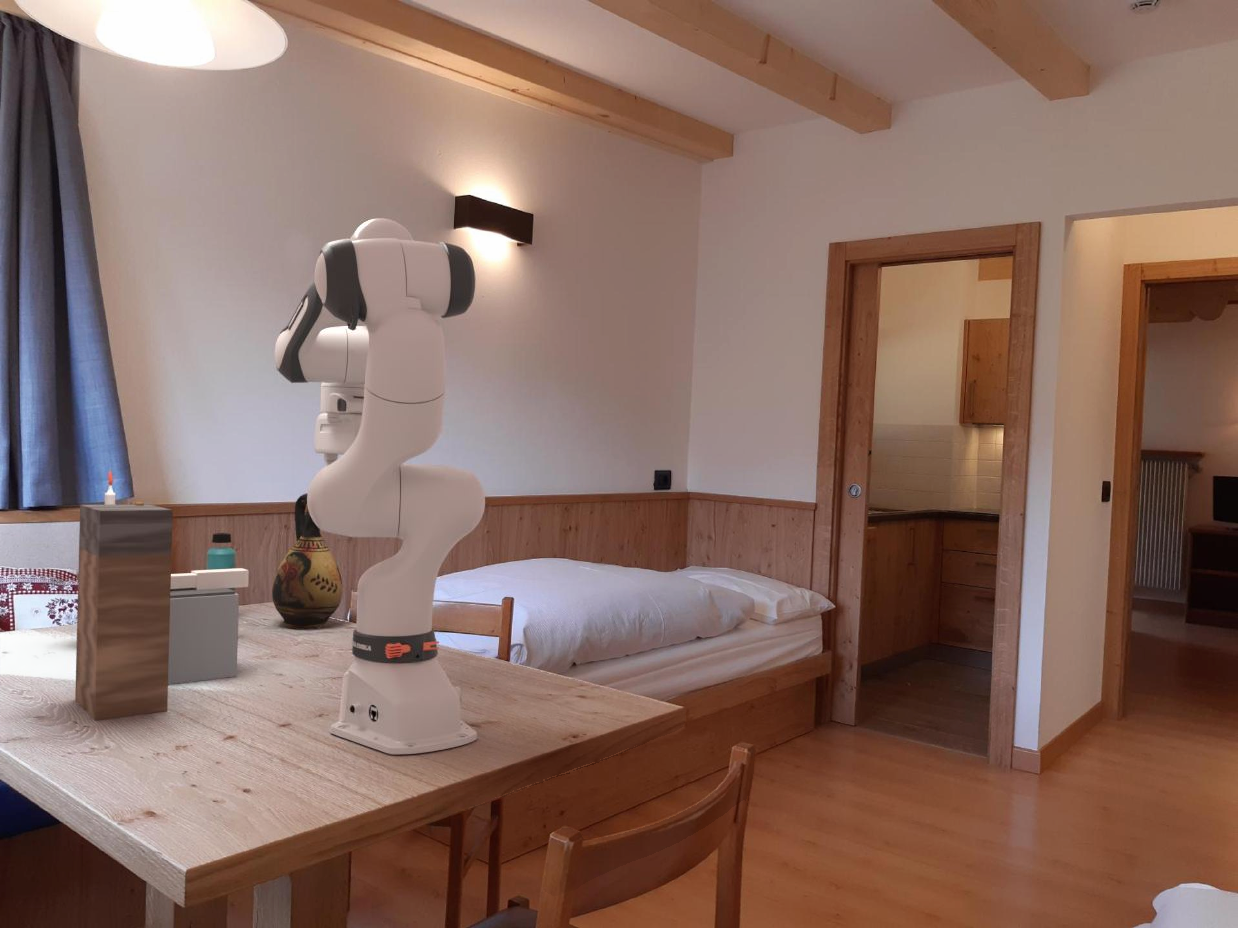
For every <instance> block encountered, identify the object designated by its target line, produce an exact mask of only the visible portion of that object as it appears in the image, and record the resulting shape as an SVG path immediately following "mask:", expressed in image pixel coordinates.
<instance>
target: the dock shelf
mask: <svg viewBox="0 0 1238 928" xmlns="http://www.w3.org/2000/svg"><path fill="white" fill-rule="evenodd" d="M239 604H240V594H238V593H236V591H235V590H234V591H233V590H230V589H228V588H221V589H204V590H196V589H194V588H179V589H171V591H170V629H169V667H168V685H175V684H185V683H192V682H200V681H209V680H218V679H227V678H233V677H235V678H236V677H238V645H239V643H238V642H239V615H240V614H239V612H240V609H239V607H240V605H239Z"/></svg>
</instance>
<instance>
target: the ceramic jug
mask: <svg viewBox="0 0 1238 928" xmlns="http://www.w3.org/2000/svg"><path fill="white" fill-rule="evenodd" d="M307 495H308V492H307V493H303V494H301V495H300V496H299V497H298V498H297V499H296V501H295V505H294V523H295V525H294V526H295V527H294V528H295V538H296V541H295V543H294V545H293V546H292V547H291V548H290V549H289V550H288V553H287V554H286V555H285V556H284V558H283V560H282V562H281V563H280V565H279V566H278V569H277V571H276V573H275V576H274V579H273V583H272V589H271V598H272V602H273V604H274V607H275V610H276V611H277V612H278V613H279V615H280V616H281V618H282V619H283V626H284V627H287V628H289V629H293V630H296V629H297V630H298V629H304V630H313V629H315V630H316V629H318V628H325V627H326V626H327V625H326V624H327V623H328V620H329V619H330V617H331V616H332V615H333V614H334V613H335V612H336V611H337V609H338V608H339V607H340V605H341V602H342V598H343V588H344V587H343V580H342V575H341V572H340V568H339V565H338V563H337V561H336V559H335V557H334V555H333V554H332V552H331V549H330V548H329V546H328V545H327V543H326V542H325V540H324V539H323V536H322V534H321V530H320V529H319V528H318V527H317V525H316V524H315V523H314V521H313V520H312V518H311V516H310V513H309V510H308V509H306V507H307ZM306 510H307V511H306ZM305 511H306V512H305Z"/></svg>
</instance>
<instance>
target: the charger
mask: <svg viewBox="0 0 1238 928" xmlns="http://www.w3.org/2000/svg"><path fill="white" fill-rule="evenodd" d="M249 572H250V571H249V570H248V569H246V568H242V567H237V568H236V567H235V569H216V570H207V569H200V570H199V569H197V570H190V573H189V572H188V573H186V572H185V573H171V589H179V588H194V589H196V590H204V589H221V588H248V587H249Z"/></svg>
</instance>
